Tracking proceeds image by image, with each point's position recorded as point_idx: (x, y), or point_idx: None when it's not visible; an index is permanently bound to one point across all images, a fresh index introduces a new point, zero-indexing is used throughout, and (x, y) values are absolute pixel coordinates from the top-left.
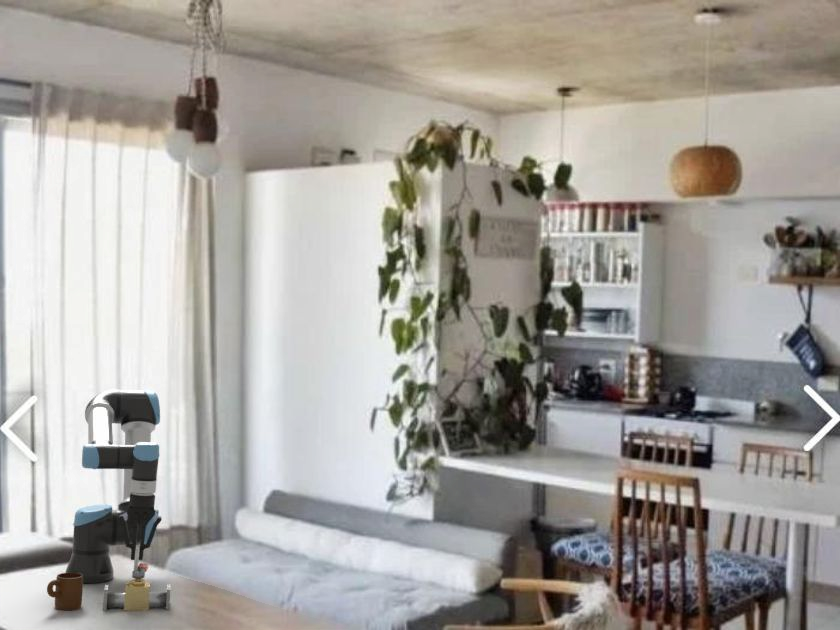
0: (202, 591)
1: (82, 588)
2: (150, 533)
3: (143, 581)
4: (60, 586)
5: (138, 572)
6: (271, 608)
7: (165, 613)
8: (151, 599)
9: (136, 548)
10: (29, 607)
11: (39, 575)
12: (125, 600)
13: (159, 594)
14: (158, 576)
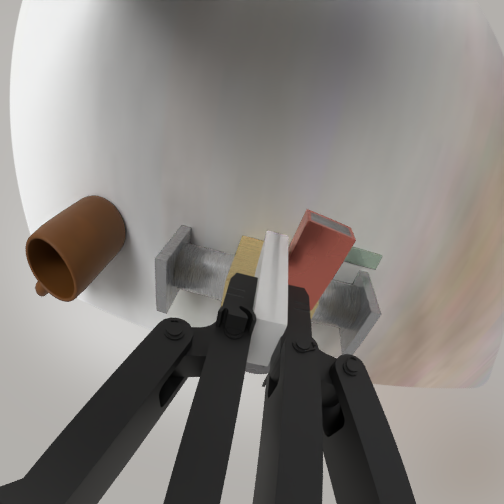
0: (497, 176)
1: (100, 262)
2: (334, 488)
3: None
4: (56, 275)
5: (252, 366)
6: (497, 336)
7: (324, 333)
8: None
9: (257, 324)
10: (44, 207)
11: None
12: None
13: (328, 324)
14: None
